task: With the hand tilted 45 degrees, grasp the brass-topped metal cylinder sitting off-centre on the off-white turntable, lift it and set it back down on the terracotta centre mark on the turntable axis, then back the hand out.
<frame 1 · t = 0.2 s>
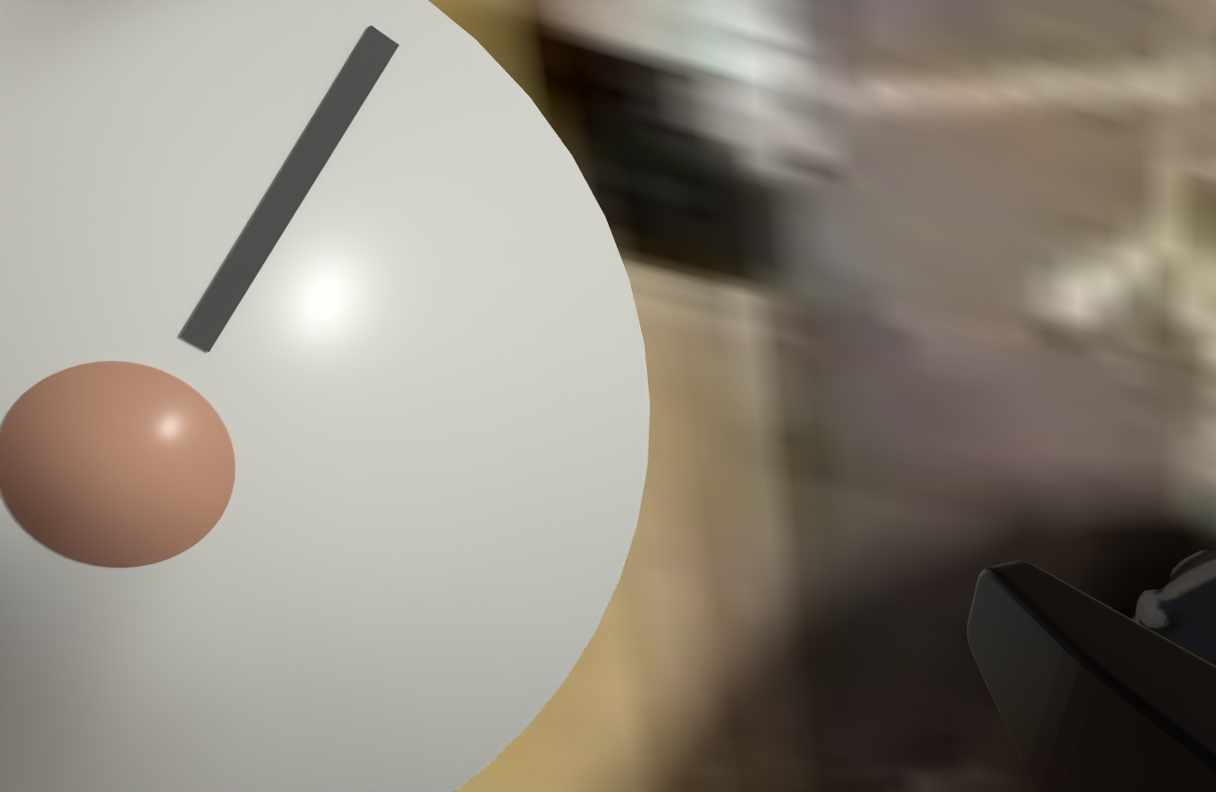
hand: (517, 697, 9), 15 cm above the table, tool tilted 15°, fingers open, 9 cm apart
turntable platter: (124, 458, 21), point 2 cm above the table, hinge at 0.0°, touching brass-topped metal cylinder
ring: (1187, 677, 33), on the table
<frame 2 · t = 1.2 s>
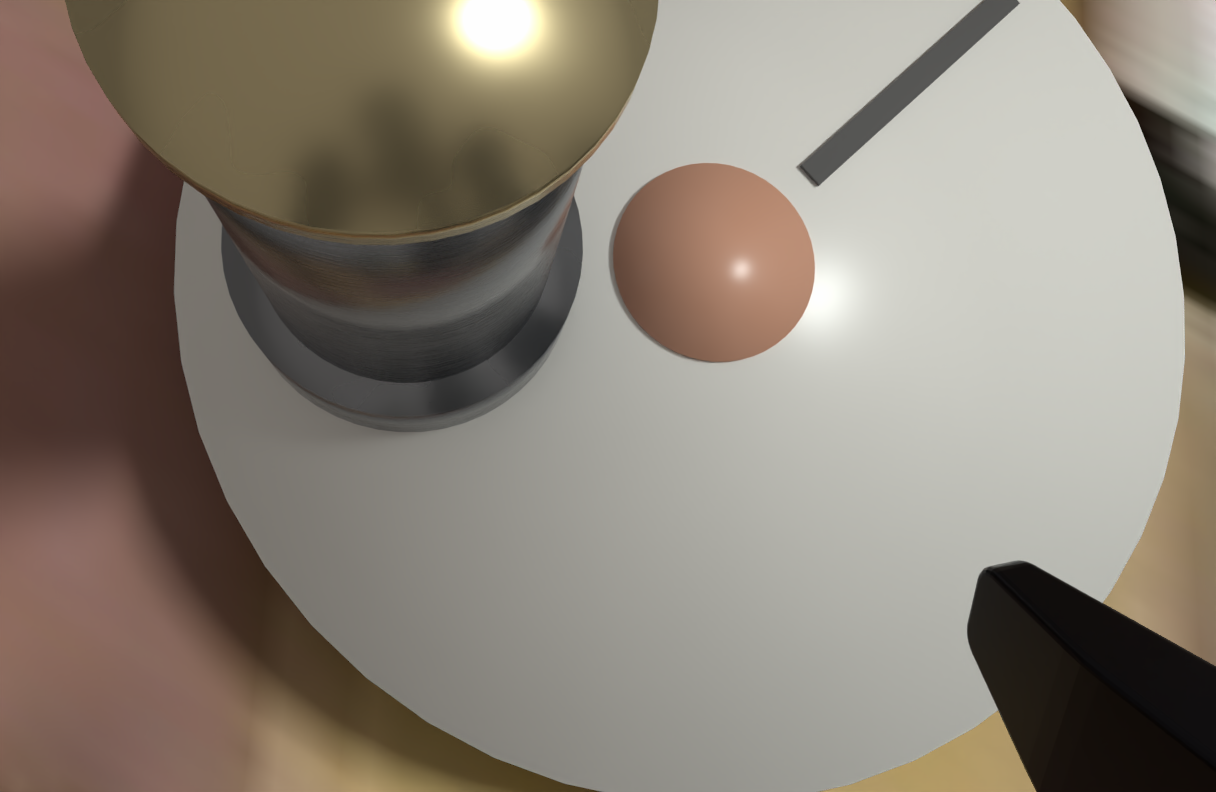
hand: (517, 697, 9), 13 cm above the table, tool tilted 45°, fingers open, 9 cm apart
turntable platter: (709, 268, 23), point 2 cm above the table, hinge at 0.0°, touching brass-topped metal cylinder
brass-topped metal cylinder: (410, 272, 21), point 2 cm above the table, touching turntable platter
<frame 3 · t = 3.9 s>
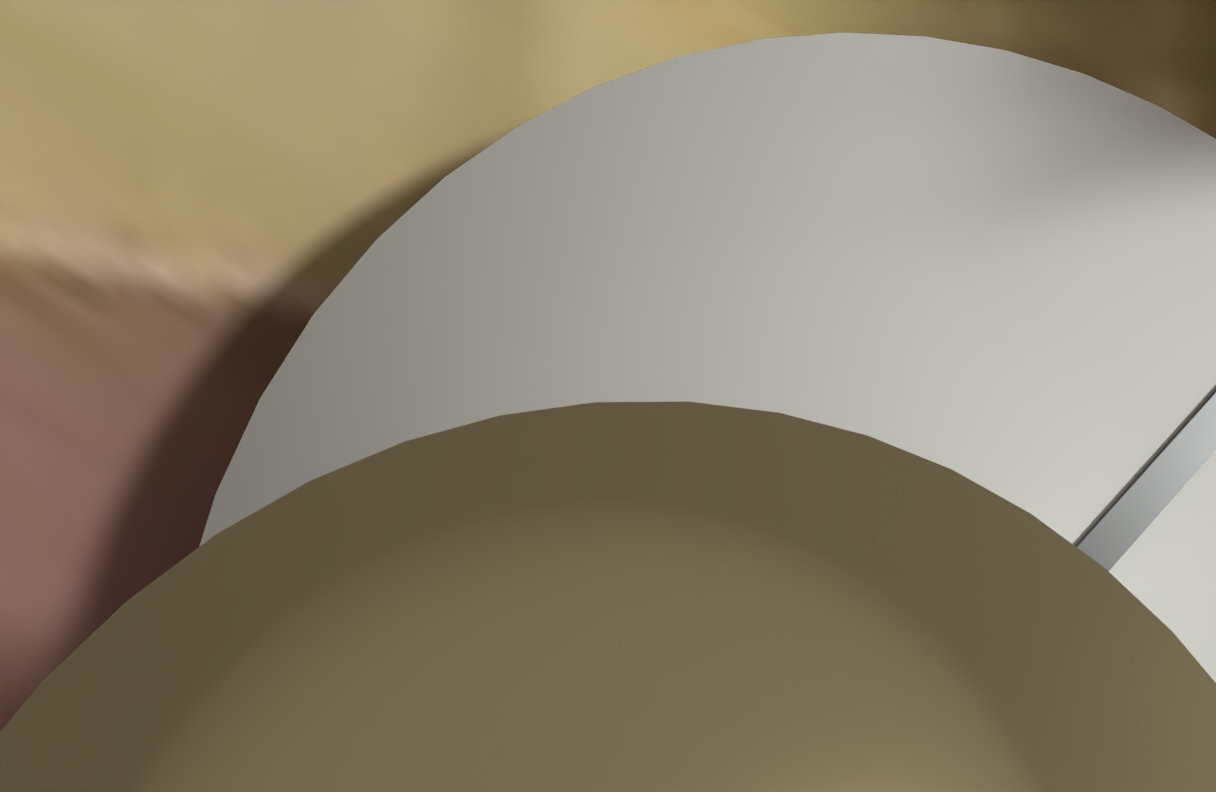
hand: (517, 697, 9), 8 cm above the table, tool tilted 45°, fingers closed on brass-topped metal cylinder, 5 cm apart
turntable platter: (933, 715, 16), point 2 cm above the table, hinge at 0.0°, touching brass-topped metal cylinder
brass-topped metal cylinder: (511, 765, 14), point 2 cm above the table, touching gripper, turntable platter
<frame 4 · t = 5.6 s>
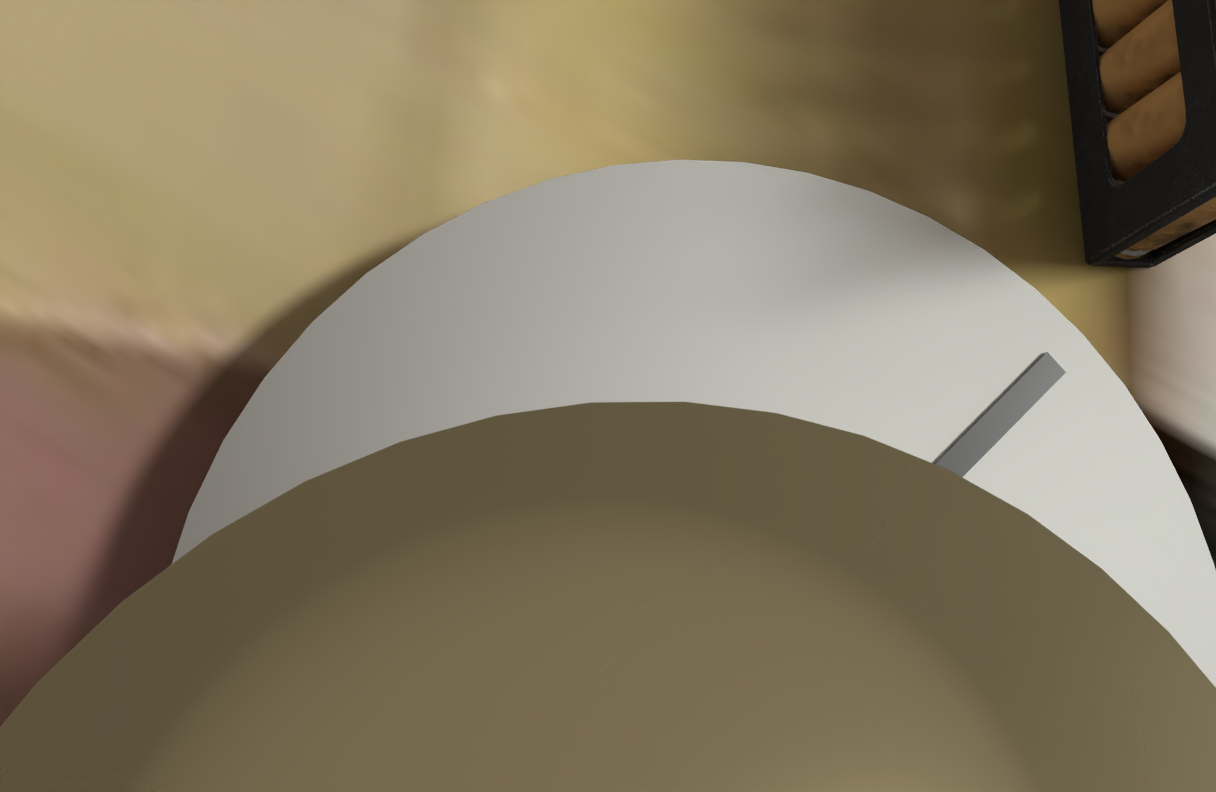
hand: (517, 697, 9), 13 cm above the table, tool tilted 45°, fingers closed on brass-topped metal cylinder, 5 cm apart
turntable platter: (727, 683, 21), point 2 cm above the table, hinge at 0.0°
ammunition clip: (1093, 71, 27), on the table
brass-topped metal cylinder: (509, 763, 14), point 8 cm above the table, touching gripper
when the fingers open (9 cm above the table, at t = 7.6 s): brass-topped metal cylinder stays where it is, resting on turntable platter.
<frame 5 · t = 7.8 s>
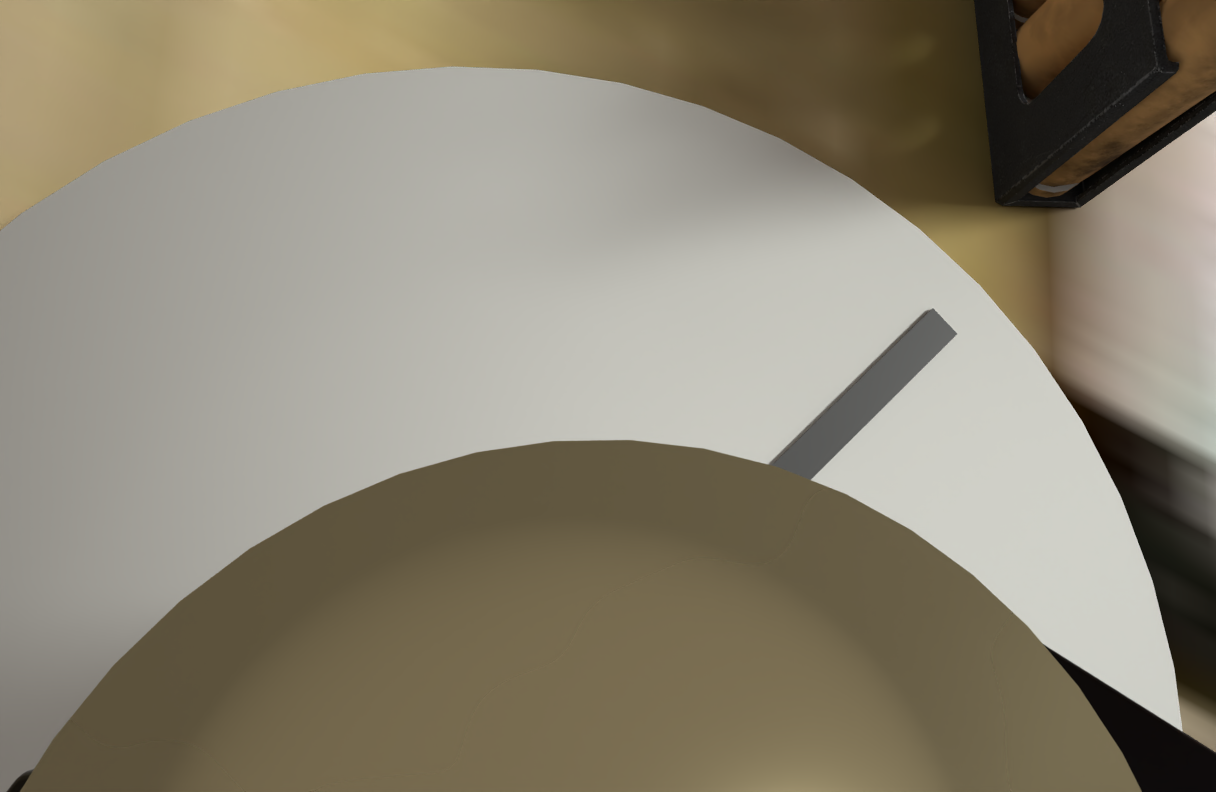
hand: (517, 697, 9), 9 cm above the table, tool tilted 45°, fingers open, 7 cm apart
turntable platter: (505, 747, 16), point 2 cm above the table, hinge at 0.0°, touching brass-topped metal cylinder
brass-topped metal cylinder: (507, 765, 15), point 2 cm above the table, touching turntable platter
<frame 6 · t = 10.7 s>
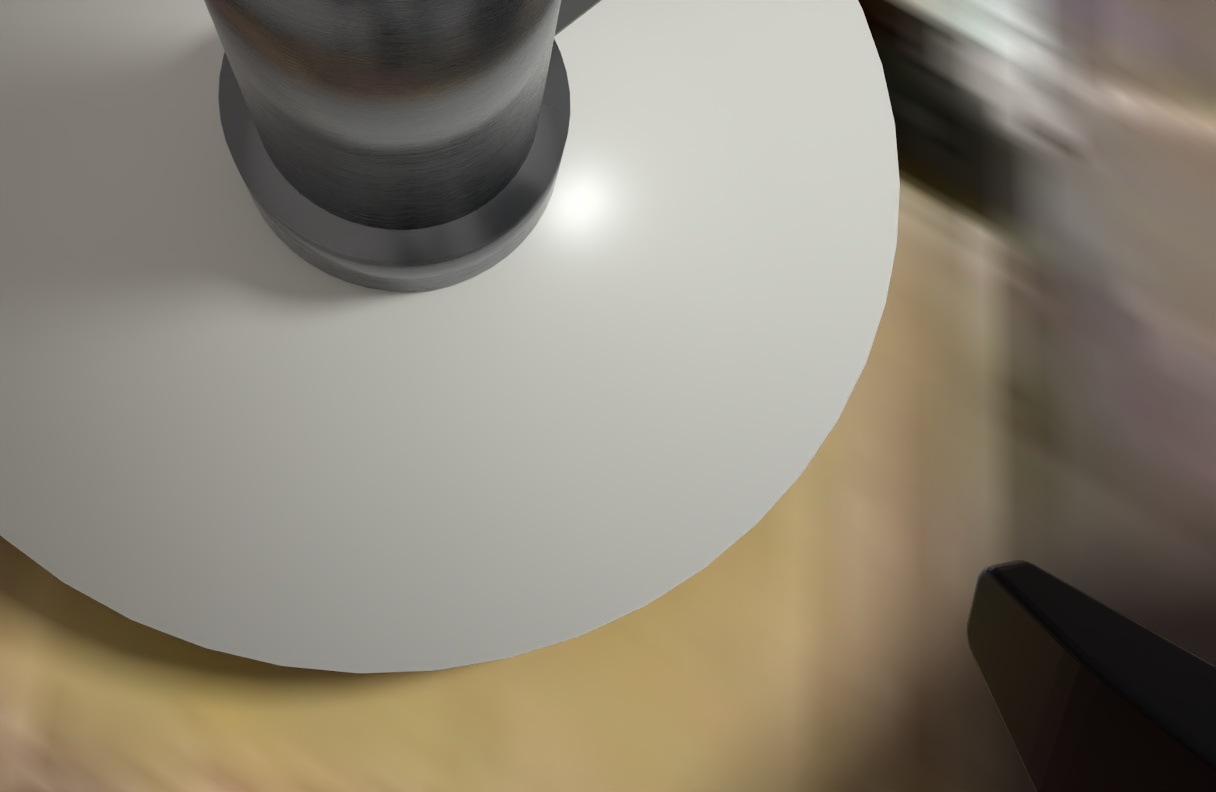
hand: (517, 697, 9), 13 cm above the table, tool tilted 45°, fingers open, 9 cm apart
turntable platter: (404, 143, 23), point 2 cm above the table, hinge at 0.0°, touching brass-topped metal cylinder
brass-topped metal cylinder: (403, 140, 22), point 2 cm above the table, touching turntable platter
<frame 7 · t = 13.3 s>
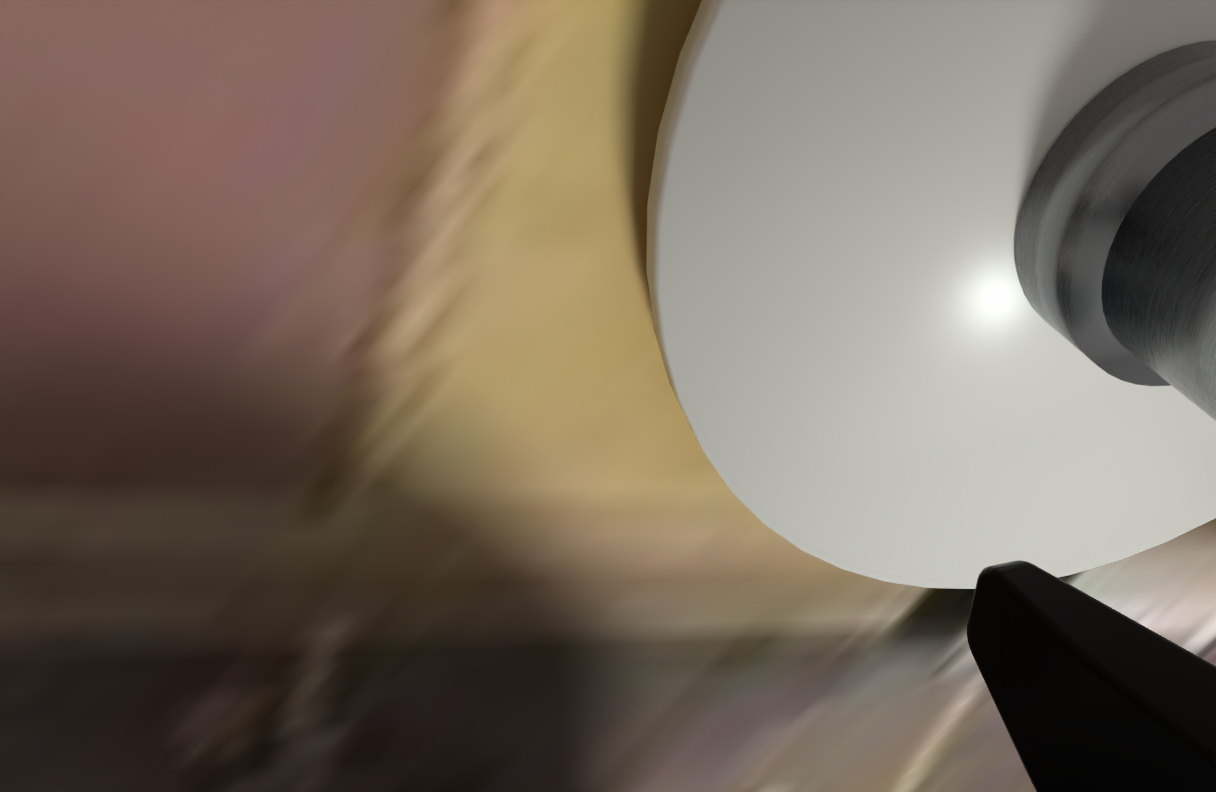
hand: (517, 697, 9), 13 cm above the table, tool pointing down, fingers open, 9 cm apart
turntable platter: (1150, 190, 22), point 2 cm above the table, hinge at 0.0°, touching brass-topped metal cylinder
brass-topped metal cylinder: (1161, 201, 22), point 2 cm above the table, touching turntable platter
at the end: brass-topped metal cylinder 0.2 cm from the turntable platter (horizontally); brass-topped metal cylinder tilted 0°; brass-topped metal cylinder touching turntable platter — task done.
